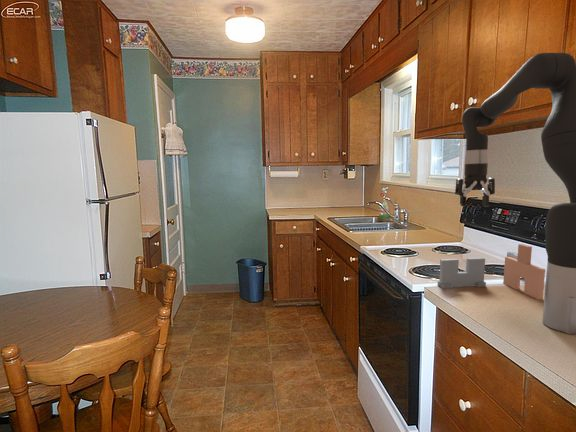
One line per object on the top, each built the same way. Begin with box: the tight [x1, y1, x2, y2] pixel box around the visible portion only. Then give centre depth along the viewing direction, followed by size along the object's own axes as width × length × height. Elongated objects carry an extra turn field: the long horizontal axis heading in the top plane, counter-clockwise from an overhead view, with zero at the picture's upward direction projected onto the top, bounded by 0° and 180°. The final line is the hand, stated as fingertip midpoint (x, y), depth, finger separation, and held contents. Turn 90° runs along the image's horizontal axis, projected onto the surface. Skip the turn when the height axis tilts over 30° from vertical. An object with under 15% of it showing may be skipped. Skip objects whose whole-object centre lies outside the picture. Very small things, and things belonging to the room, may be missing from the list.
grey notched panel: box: [437, 257, 487, 290], centre depth 127 cm, size 16×4×10 cm, turn 96°
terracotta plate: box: [502, 243, 546, 301], centre depth 120 cm, size 16×2×16 cm, turn 6°
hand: (474, 206), depth 133 cm, fingers open, 8 cm apart
